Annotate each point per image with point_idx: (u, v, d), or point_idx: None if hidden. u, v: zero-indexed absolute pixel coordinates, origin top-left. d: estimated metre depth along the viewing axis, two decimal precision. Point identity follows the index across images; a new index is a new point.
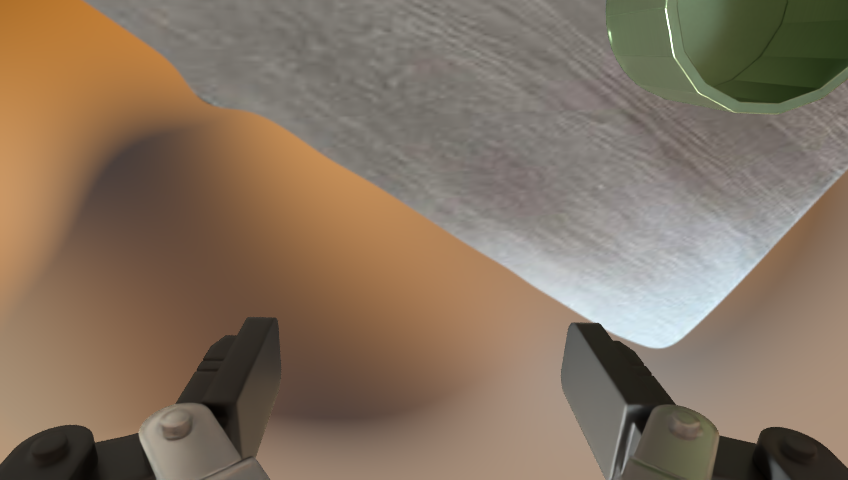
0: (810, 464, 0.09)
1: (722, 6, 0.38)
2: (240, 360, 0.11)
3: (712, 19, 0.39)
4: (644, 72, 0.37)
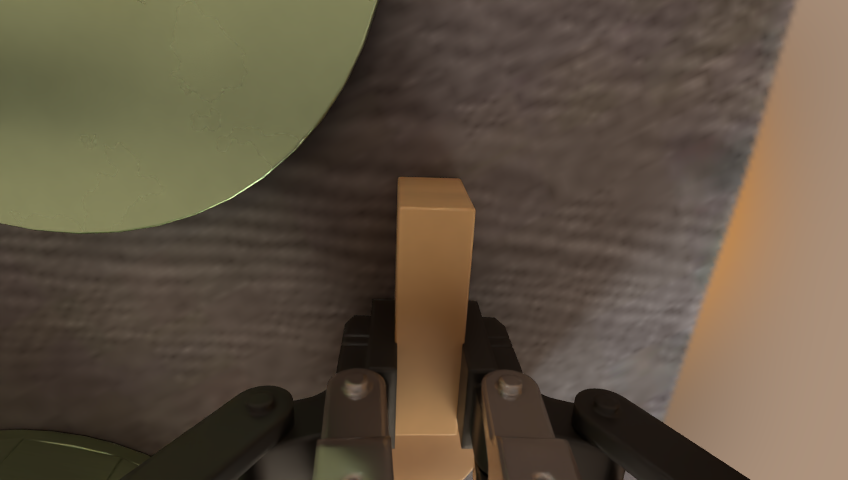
0: (610, 419, 0.10)
1: None
2: (384, 335, 0.12)
3: None
4: None
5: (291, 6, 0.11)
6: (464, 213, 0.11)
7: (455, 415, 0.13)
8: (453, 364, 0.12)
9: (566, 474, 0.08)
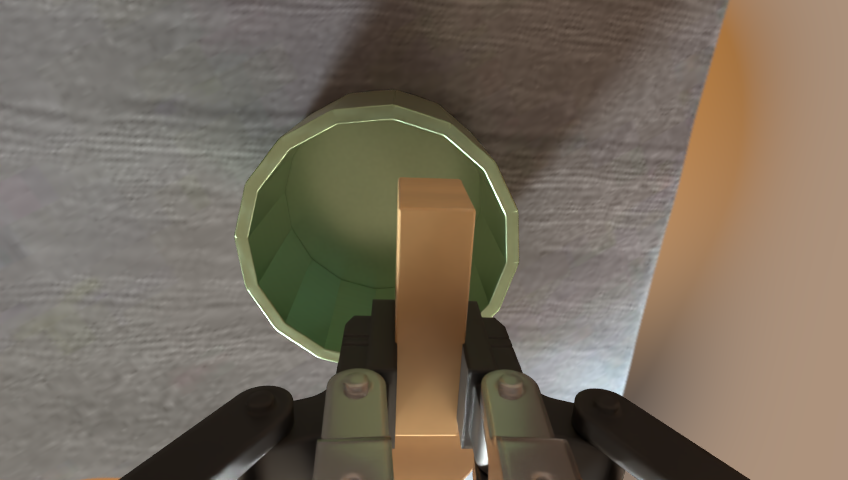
0: (610, 419, 0.10)
1: None
2: (384, 335, 0.12)
3: None
4: None
5: None
6: (464, 214, 0.11)
7: (455, 415, 0.13)
8: (453, 364, 0.13)
9: (566, 474, 0.08)
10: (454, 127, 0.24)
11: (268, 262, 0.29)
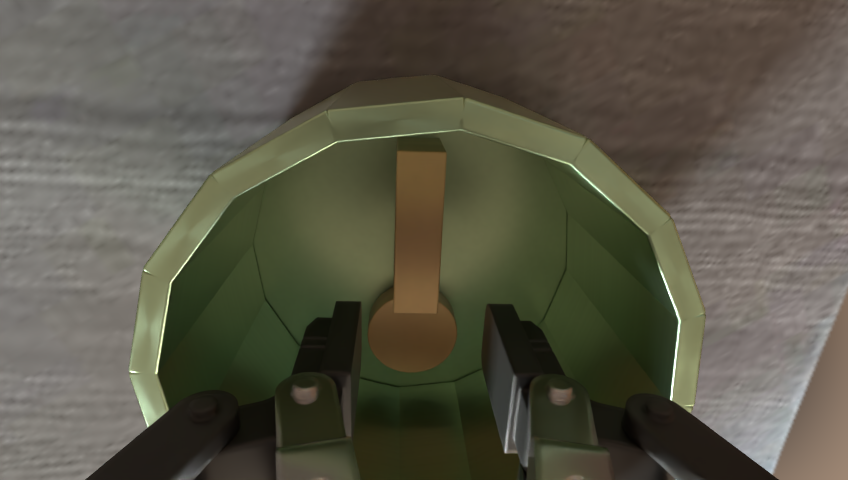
0: (664, 424, 0.10)
1: (450, 246, 0.21)
2: (342, 337, 0.12)
3: (448, 269, 0.22)
4: None
5: None
6: (439, 155, 0.17)
7: (436, 298, 0.19)
8: (434, 260, 0.19)
9: None
10: (593, 147, 0.11)
11: None
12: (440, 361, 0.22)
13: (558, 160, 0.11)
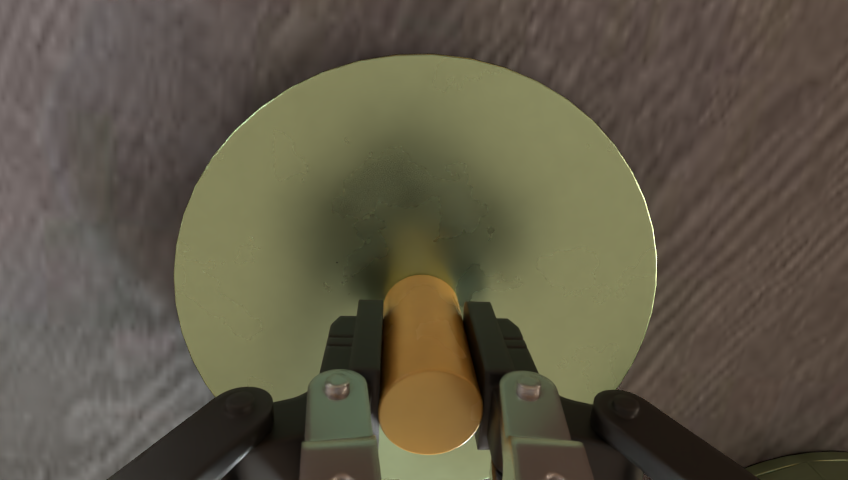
0: (630, 420, 0.10)
1: None
2: (368, 335, 0.12)
3: None
4: None
5: (581, 202, 0.15)
6: None
7: None
8: None
9: (579, 476, 0.08)
10: None
11: None
12: None
13: None
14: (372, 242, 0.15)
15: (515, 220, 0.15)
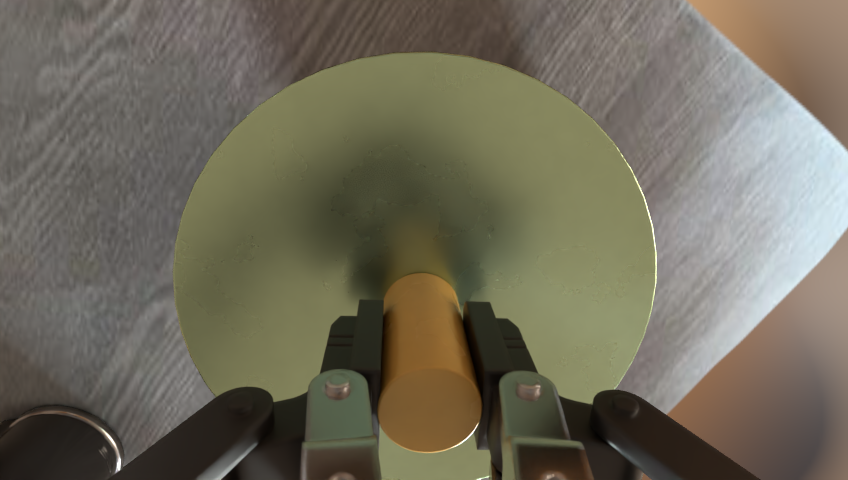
0: (629, 420, 0.10)
1: None
2: (369, 335, 0.12)
3: None
4: None
5: (581, 200, 0.15)
6: None
7: None
8: None
9: (579, 476, 0.08)
10: None
11: None
12: None
13: None
14: (371, 240, 0.15)
15: (515, 218, 0.15)
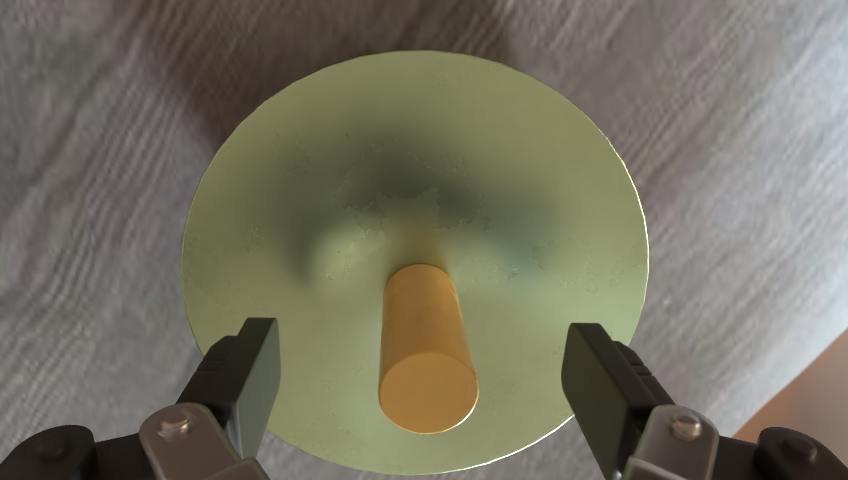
0: (810, 464, 0.09)
1: None
2: (240, 360, 0.11)
3: None
4: None
5: (575, 193, 0.16)
6: None
7: None
8: None
9: None
10: None
11: None
12: None
13: None
14: (372, 233, 0.16)
15: (511, 211, 0.16)
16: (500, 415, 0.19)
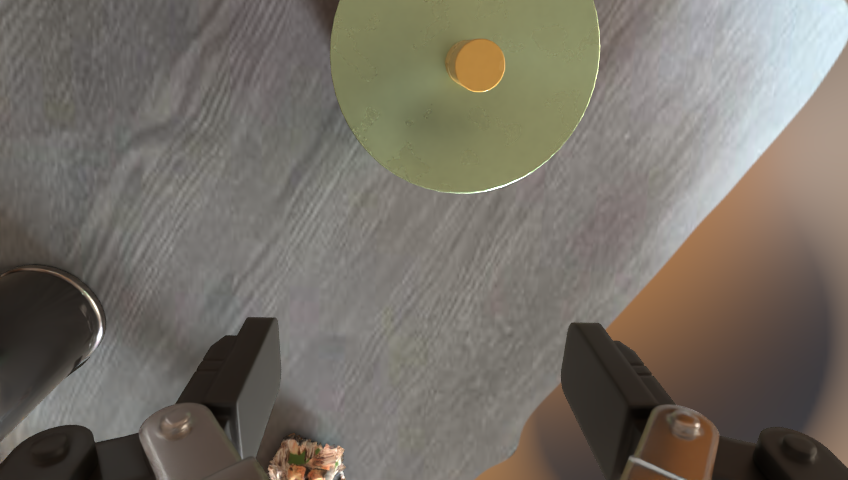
0: (810, 464, 0.09)
1: None
2: (240, 360, 0.11)
3: None
4: None
5: None
6: None
7: None
8: None
9: None
10: None
11: None
12: None
13: None
14: (441, 18, 0.28)
15: (520, 6, 0.28)
16: (512, 149, 0.30)
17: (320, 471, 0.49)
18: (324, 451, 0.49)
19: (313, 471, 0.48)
